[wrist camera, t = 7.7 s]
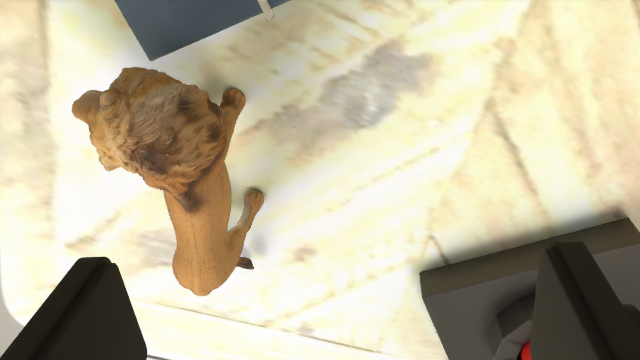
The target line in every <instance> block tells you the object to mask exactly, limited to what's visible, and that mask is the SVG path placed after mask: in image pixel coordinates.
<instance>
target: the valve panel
mask: <svg viewBox="0 0 640 360" xmlns="http://www.w3.org/2000/svg"><path fill="white" fill-rule="evenodd" d="M288 1H290V0H115V2H116V4H117V6H118V7H119V9H120V11H121V12H122V14H123V16H124V18H125V19H126V21H127V23H128V24H129V26H130V28H131V29H132V31H133V33H134V35H135V36H136V38H137V40H138V41H139V43H140V45H141V47H142V48H143V50H144V52H145V53H146V55H147V57H148V58H149V60H150V61H153V60H156V59H158V58H160V57H162V56H165V55H167V54H169V53H172V52H174V51H176V50H178V49H181V48H183V47H185V46H188V45H190V44H192V43H194V42H197V41H199V40H201V39H204V38H206V37H208V36H210V35H213V34H215V33H217V32H220V31H222V30H224V29H226V28H229V27H231V26H233V25H235V24H238V23H240V22H242V21H245V20H247V19H249V18H251V17H254V16H256V15H258V14H261V13H264V15H265V17H266V20H267V21H268V20H270V19H273V18H275V16H274V13H273V11H272V8H274V7H277V6H279V5H281V4H283V3H286V2H288Z"/></svg>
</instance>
